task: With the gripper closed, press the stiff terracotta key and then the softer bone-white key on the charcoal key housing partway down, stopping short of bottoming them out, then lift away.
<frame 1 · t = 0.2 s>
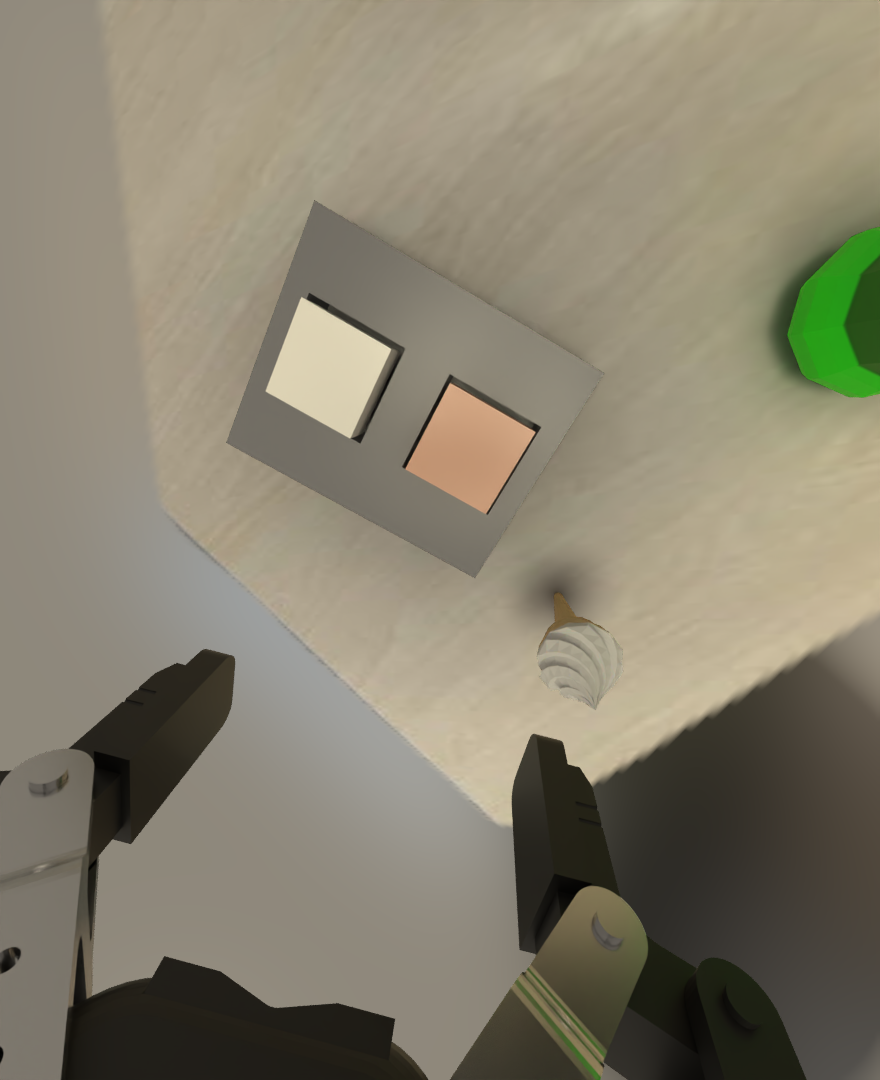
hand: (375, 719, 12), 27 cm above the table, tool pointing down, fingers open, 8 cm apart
white key: (334, 371, 29), point 6 cm above the table, slide at 0.0 cm
terracotta key: (469, 448, 30), point 6 cm above the table, slide at 0.0 cm
plastic bottle: (837, 321, 31), on the table
key housing: (416, 406, 36), on the table
ice cream cone: (556, 593, 40), on the table
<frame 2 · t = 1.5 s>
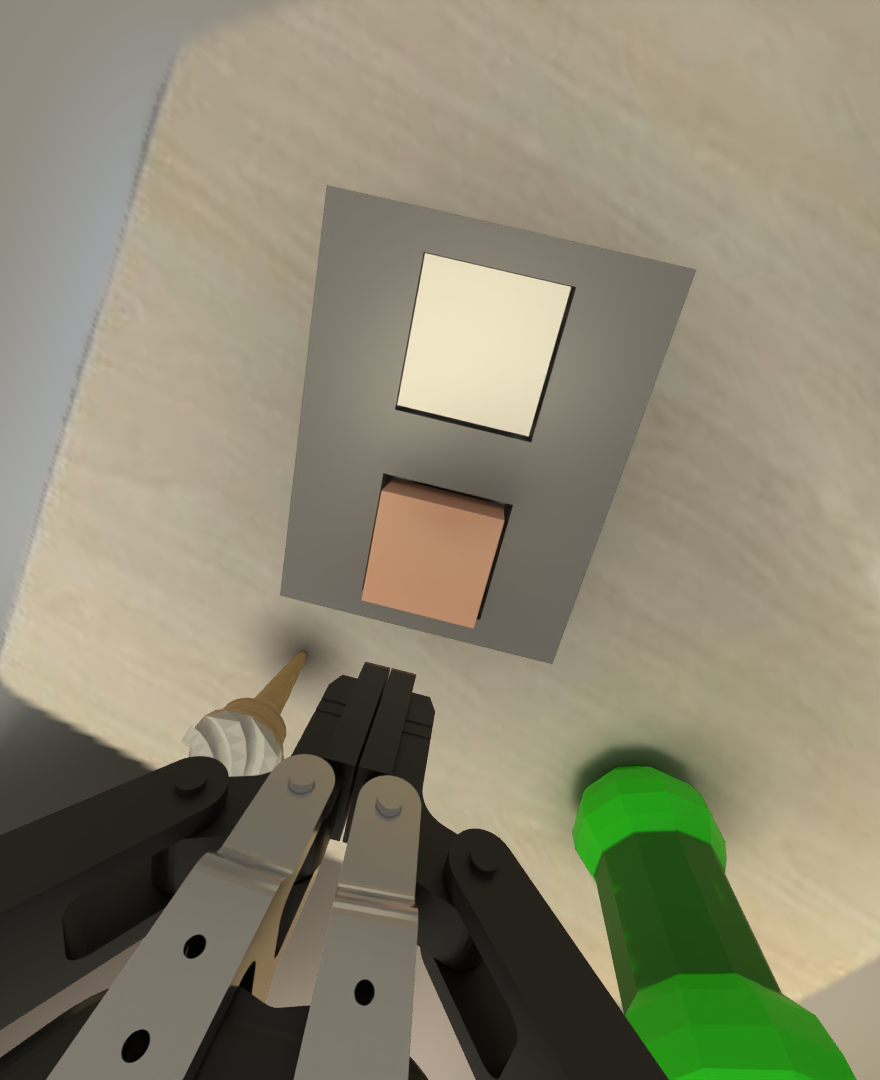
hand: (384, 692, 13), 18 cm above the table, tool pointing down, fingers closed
white key: (480, 351, 21), point 6 cm above the table, slide at 0.0 cm
terracotta key: (433, 551, 24), point 6 cm above the table, slide at 0.0 cm
plastic bottle: (629, 789, 36), on the table
key housing: (462, 443, 28), on the table
ice cream cone: (305, 651, 35), on the table
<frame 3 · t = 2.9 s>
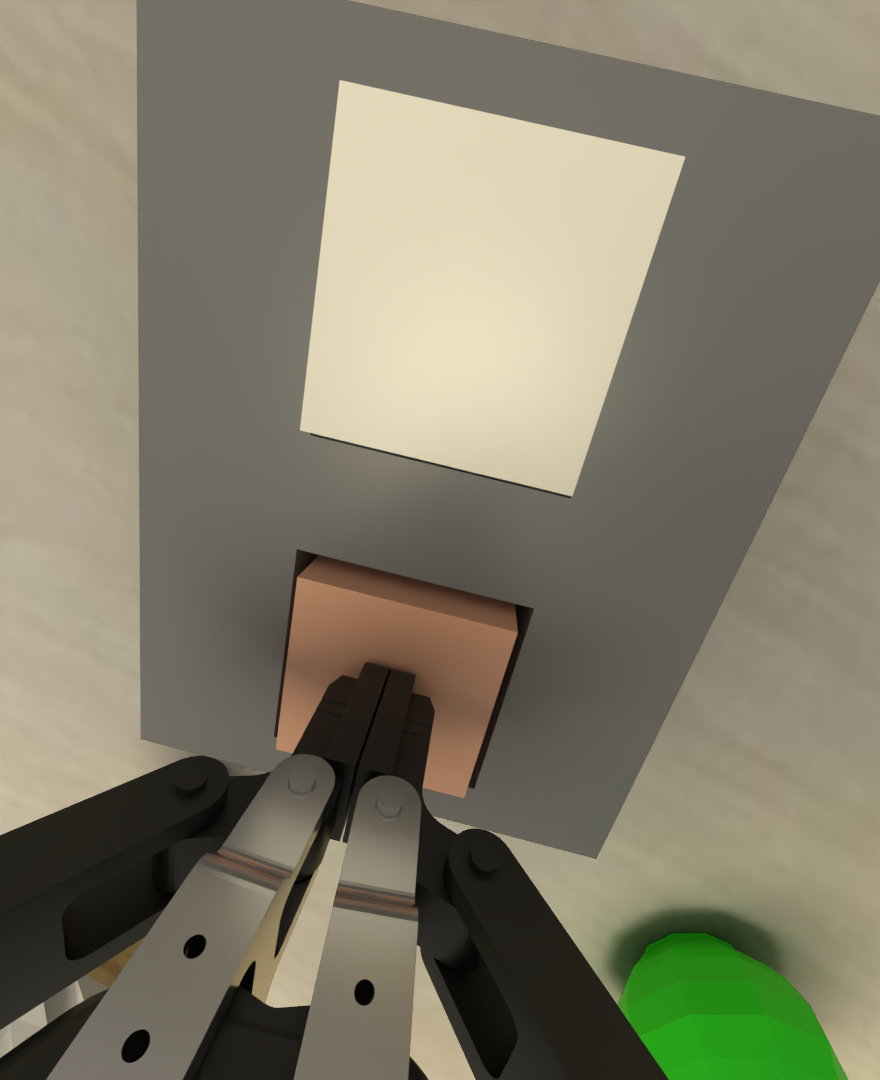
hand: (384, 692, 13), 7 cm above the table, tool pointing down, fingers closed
white key: (471, 320, 10), point 6 cm above the table, slide at 0.0 cm
terracotta key: (396, 665, 14), point 5 cm above the table, slide at 1.0 cm, touching gripper
plastic bottle: (688, 959, 25), on the table
key housing: (447, 480, 18), on the table
ice cream cone: (225, 769, 24), on the table
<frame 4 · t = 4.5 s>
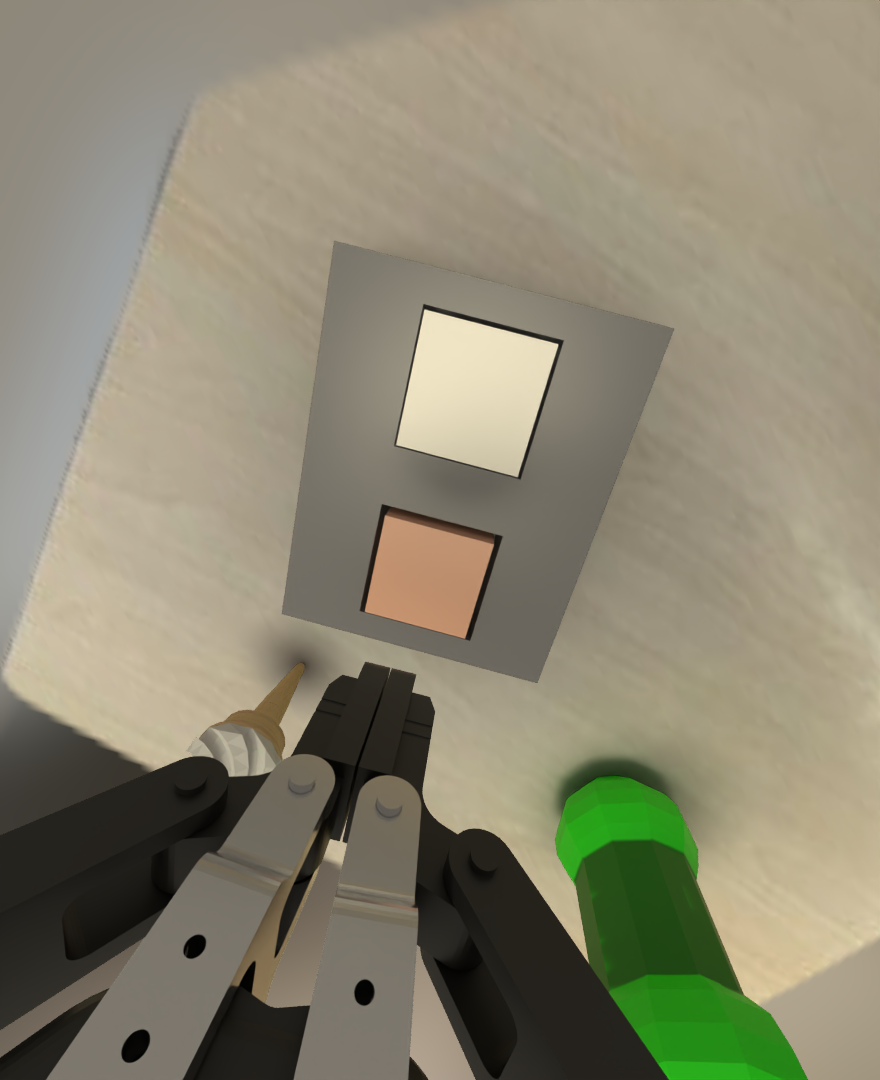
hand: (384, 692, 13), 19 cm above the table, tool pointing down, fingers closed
white key: (474, 396, 22), point 6 cm above the table, slide at 0.0 cm
terracotta key: (429, 569, 27), point 5 cm above the table, slide at 1.2 cm
plastic bottle: (610, 798, 38), on the table
key housing: (457, 471, 30), on the table
ice cream cone: (303, 662, 36), on the table
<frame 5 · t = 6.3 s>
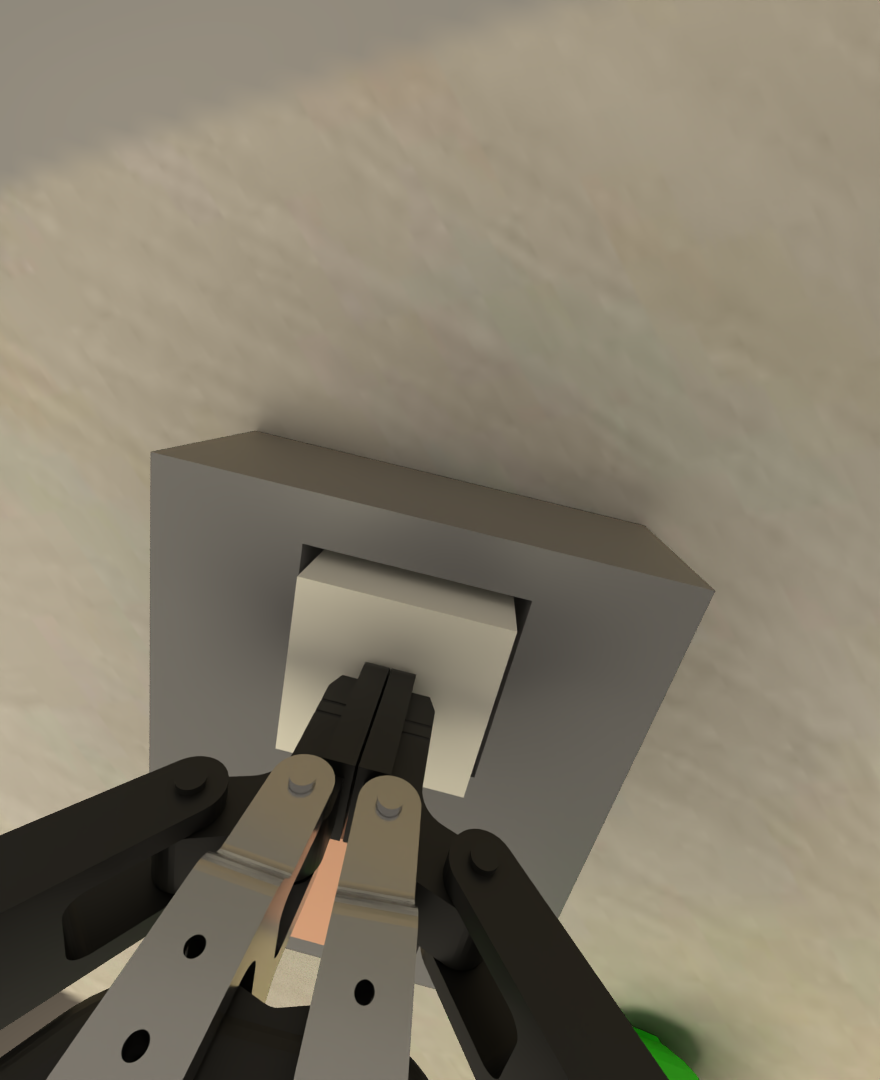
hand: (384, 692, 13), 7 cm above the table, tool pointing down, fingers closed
white key: (396, 664, 14), point 6 cm above the table, slide at 0.6 cm, touching gripper
terracotta key: (353, 858, 18), point 5 cm above the table, slide at 1.2 cm
plastic bottle: (622, 1046, 29), on the table
key housing: (400, 681, 22), on the table
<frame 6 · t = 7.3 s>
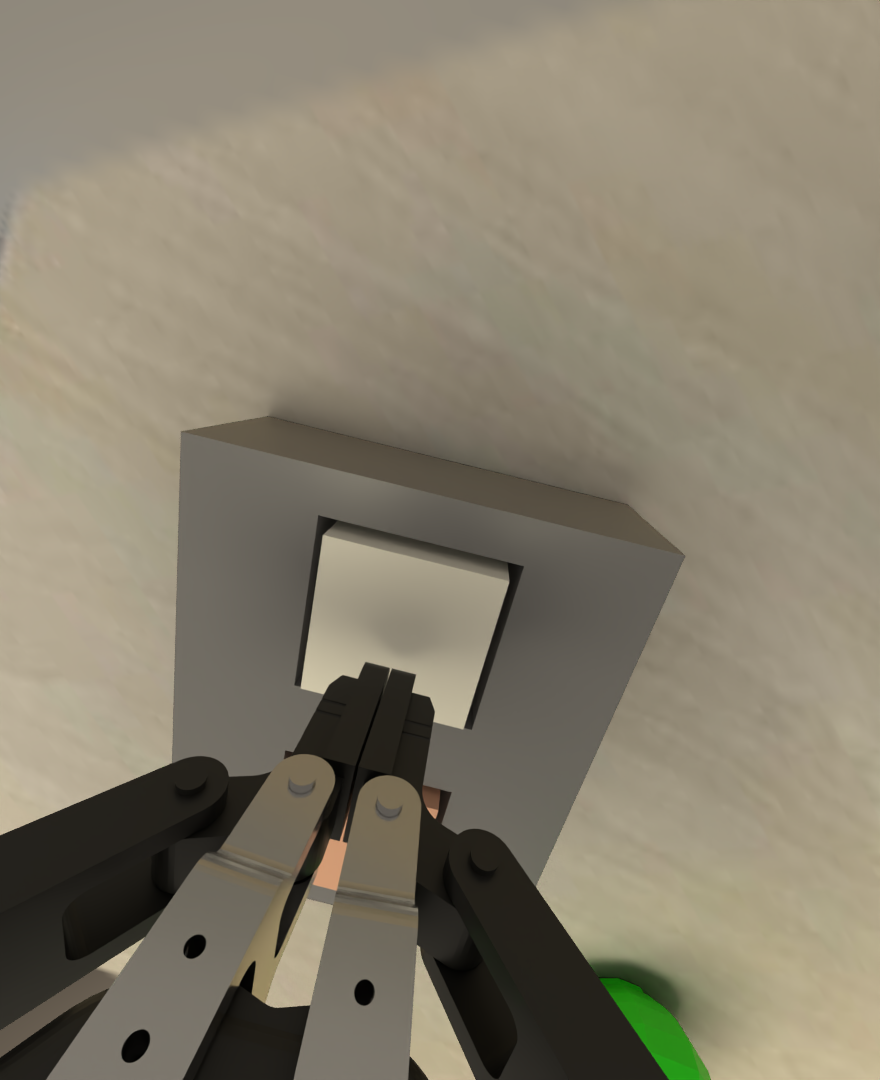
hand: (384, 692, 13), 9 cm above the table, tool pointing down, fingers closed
white key: (405, 616, 17), point 5 cm above the table, slide at 1.3 cm
terracotta key: (360, 811, 20), point 5 cm above the table, slide at 1.2 cm
plastic bottle: (607, 998, 31), on the table
key housing: (401, 652, 23), on the table
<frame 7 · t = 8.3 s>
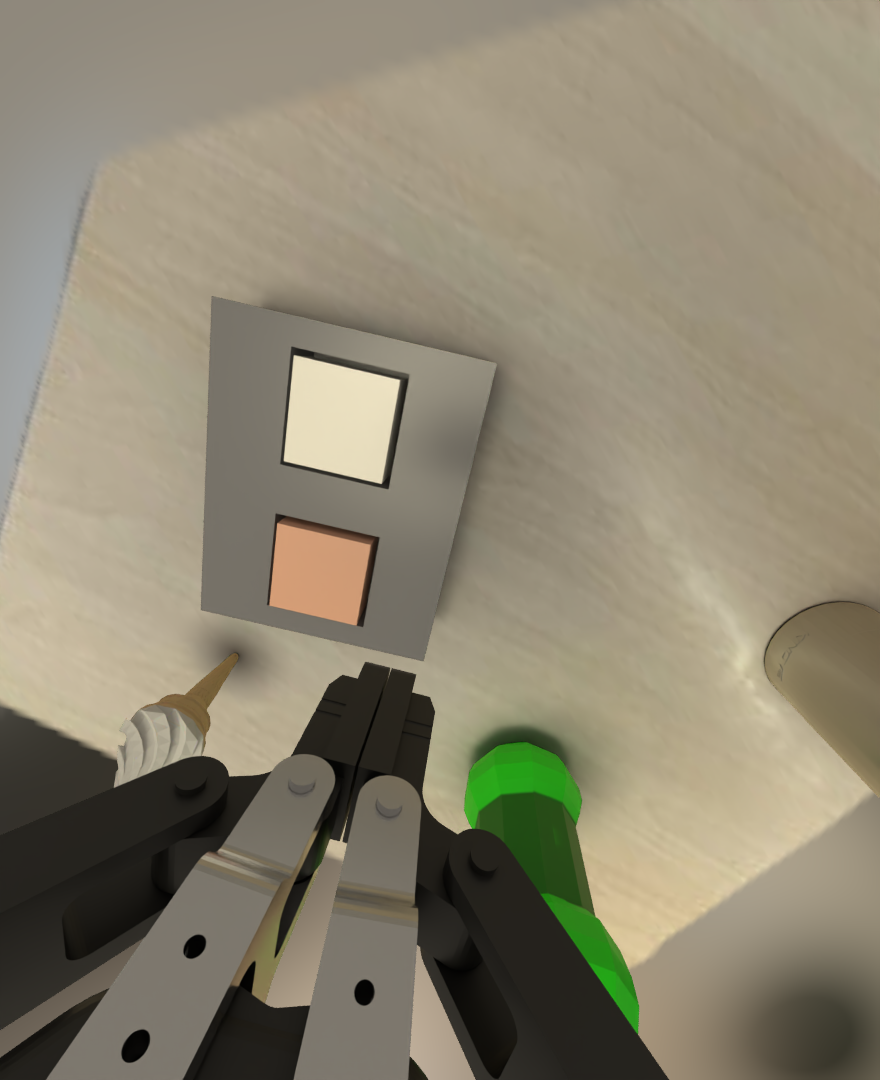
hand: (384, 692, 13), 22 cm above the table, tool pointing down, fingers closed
white key: (346, 419, 28), point 5 cm above the table, slide at 1.3 cm
terracotta key: (325, 567, 31), point 5 cm above the table, slide at 1.2 cm
plastic bottle: (517, 762, 43), on the table
key housing: (354, 480, 34), on the table
ice cream cone: (237, 652, 41), on the table
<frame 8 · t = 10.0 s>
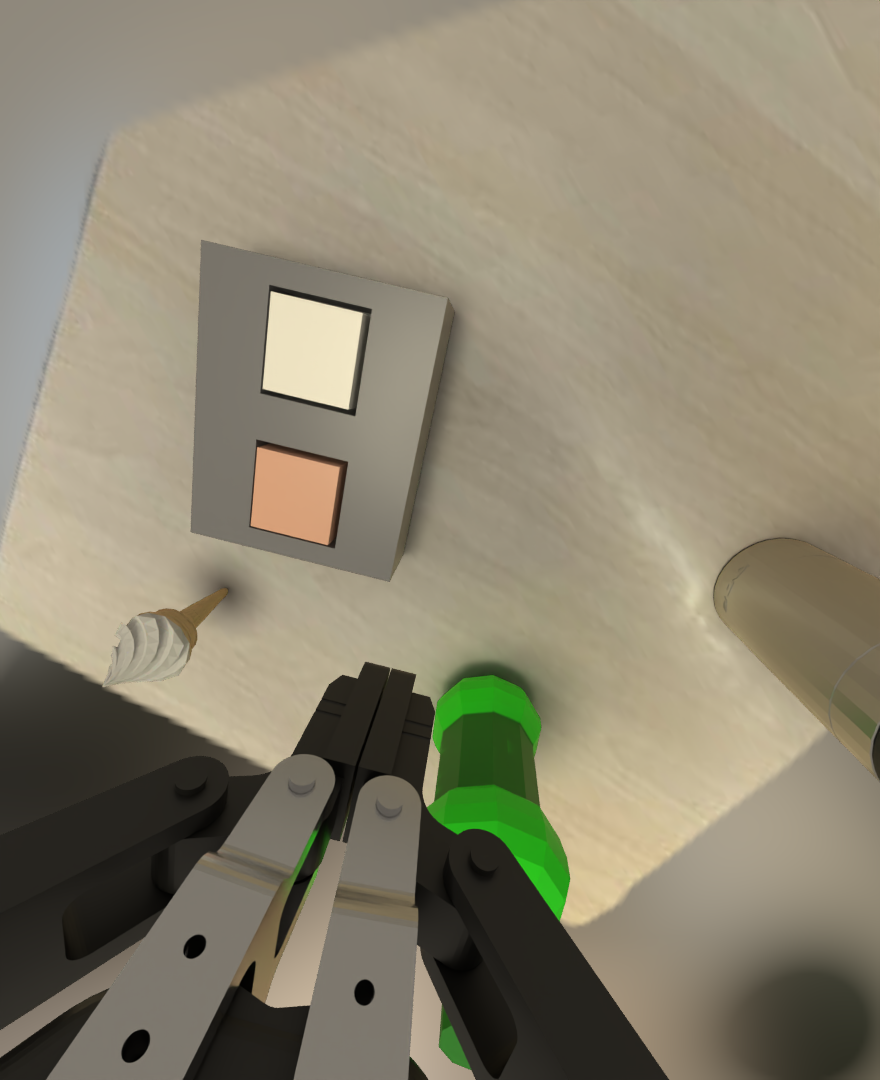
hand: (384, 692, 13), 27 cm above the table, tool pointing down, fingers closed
white key: (318, 353, 31), point 5 cm above the table, slide at 1.3 cm
terracotta key: (301, 492, 35), point 5 cm above the table, slide at 1.2 cm
plastic bottle: (486, 699, 45), on the table
key housing: (332, 421, 38), on the table
ice cream cone: (227, 588, 44), on the table
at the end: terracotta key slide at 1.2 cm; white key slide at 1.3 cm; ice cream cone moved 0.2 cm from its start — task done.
